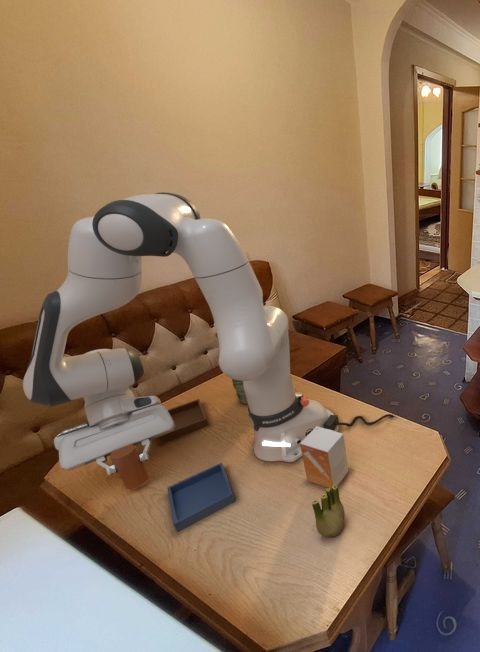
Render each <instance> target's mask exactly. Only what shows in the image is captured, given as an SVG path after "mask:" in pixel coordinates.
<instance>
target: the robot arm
mask: <svg viewBox="0 0 480 652" xmlns="http://www.w3.org/2000/svg"><path fill="white" fill-rule="evenodd" d="M173 253H174V254H177V255H178V256H180V257H181V258H182V259H183V261H185V263H186V265H187V266H188V268H189V270H190V272H191V274H192V276H193V278H194V280H195V282H196V283H197V285H198V287H199V289H200V291H201V293H202V295H203V297H204V299H205V301H206V303H207V304H208V307H209V309H210V312H211V316H212V319H213V323H214V328H215V332H216V333H217V337H218V338H217V337H216V338H217V341H218V347H219V348H218V349H219V350H218V351H219V352H218V366H219V369H220V371H221V372H222V373H223V374H224V375H225V376H226V377H228V378H230V379H231V380H232V379H234V380H238V381H243V387H244V391H245V394H246V398H247V402H248V404H247V405H248V408H247V411H248V418H249V422H250V425H251V427H252V429H253V432H254V445H253V453H254V456H255V457H257V459H259V460H261V461H264V462H284V463H285V462H286V463H294V462H296V461H297V460H299V459H300V458H301V457H303V456H302V451H301V446H300V443H301V442H302V441H303V440H304V439H305V438H306V437H307V436H308V435H309V434H310V433H311V432H312V431H313V430H314V429H315V428H316V427H317V426H318V427H321V428H325V429H329V430H332V431H335V432H339V429H340V426H347V427H351V426H353V425H354V423H355V422H356V420H357V419H361V420H362V422H363V423H364V425H367V426H371V425H375V424H377V423H379V422H380V421H383V420H384V419H385V418H388V417H389V418H394V417H395V415H394V414H390V413H388V414H384V415H382V416H380V417H379V418H377V419H376V420H374V421H371V422H369V421H367V420H366V419H365V418H364V416H362V415H356V416H355V417H354V418H352V421H351V422H350V423H348V422H339V415H337V414H334V413H333V412H332V411H331V410H329V409H328V408H326V407H325V406H324V405H322V404H321V403H320V402H319V401H317V400H315V399H308V398H307V397H305V396H304V394H303V393H302V392H300V391H299V390H298V389H297V388H294V384H293V379H292V373H291V352H290V350H291V349H290V337H289V335H290V334H289V325H290V323H289V322H290V321H289V317H288V315H287V314H286V312H284V310H282V309H281V308H279V307H277V306H273V305H264V293H263V289H262V287H261V285H260V282H259V280H258V278H257V276H256V273H255V271H254V269H253V266H252V264H251V263H250V260H249V258H248V256H247V254H246V252H245V250H244V248H243V247H242V245H241V243H240V242H239V240H238V238H237V237H236V236H235V234H234V232H233V231H232V230H231V229H230V227H229V226H228V225H227V224H226V223H225V222H223V221H221V220H219V219H216V218H201V215H200V212H199V209H198V207H197V206H196V205H195V204H194V203H193V202H192V200H190V199H188V198H186V197H185V196H183V195H180V194H178V193H173V192H157V193H149V194H144V193H143V194H135V195H131V196H129V197H126V198H122V199H118V200H113V201H110V202H108V203H107V204H105V205H103V206H102V207H101V208H99V209H98V210H97V212H96V213H95V214H94V216H87V217H83V218H81V219H79V220H77V221H76V222H75V223H74V224H73V225H72V227H71V231H70V235H69V239H68V246H67V274H66V278H65V279H64V281H63V283H62V284H61V286H59V288H58V289H57V290H53V291H52V292H50V293H47V295H46V296H45V298H44V299H43V302H42V305H41V308H40V311H39V316H38V320H37V324H36V329H35V334H34V338H33V339H34V340H33V345H32V350H31V354H30V357H29V362H28V365H27V368H26V372H25V374H24V377H23V380H22V389H23V392H24V395H25V397H26V398H27V400H28V401H29V402H31V403H33V404H37V405H39V406H43V407H44V406H45V407H50V408H53V407H57V406H60V405H62V404H66V403H71V402H73V401H74V400H78V399H83V400H84V407H83V408H84V412H85V416H86V420H87V421H86V422H83V423H81V424H78V425H76V426H74V427H70V428H67V429H64V430H61V431H60V433H58V434H57V435H56V436H55V437H54V439H53V445H54V449H55V450H56V451H58V461H59V467H60V468H61V469H62V470H66V471H74V470H76V469H79V468H81V467H84V466H87V465H90V464H92V463H94V462H96V464H97V465H98V466H101V467H102V468H104V469H105V471H106V473H107V476H109V477H111V476H112V475H115V474H118V472H117V470H116V468H115V466H114V464H112V465H109V464H107V463H108V461H109V460H108V457H110V454H111V453H112V452H113V451H114V450H116V449H119V448H122V447H124V446H127V445H129V444H133V445H134V446H135V447H136V446H139V445H142V446H143V451H142V453H140V454H139V458H140V461H141V462H143V463H144V462H146V461H149V460H150V457H149V452H150V449H151V446H152V442H151V440H153V439H156V438H159V436H161V435H164V434H166V433H169V432H172V431H173V430H174V429H175V427H176V425H175V423H174V420H173V418H172V417H171V415H170V413H169V412H168V410H169V409H167V408H166V407H165V406H164V405H162V401H161V399H160V398H159V397H158V396H156V395H145V396H137V397H136V396H135V394H134V393H133V391H132V390H131V387H132V386H134V385H135V384H136V383H138V382H139V381H140V379H141V378H142V377H143V376H144V374H145V370H144V366H143V363H142V359H141V357H140V354H139V353H137V351H134V350H132V349H130V348H127V347H120V348H112V349H111V348H97V349H94V350H89V351H87V352H85V353H83V354H78V355H72V356H64V354H65V350H66V344H67V340H68V337H69V333H70V331H72V329H74V328H75V327H76V326H77V325H79V324H81V323H82V322H85V321H88V320H89V319H92V318H94V317H97V316H99V315H102V314H106V313H108V312H112V311H115V310H117V309H120V308H121V307H123V306H125V305H127V304H128V303H130V302H131V301H133V300H134V299H135V298H136V297H137V296H138V294H139V293H140V291H141V287H142V278H143V277H142V276H143V271H142V270H143V267H142V257H163V258H167V257H169V256H171V255H172V254H173ZM393 415H394V416H393ZM106 462H107V463H106Z"/></svg>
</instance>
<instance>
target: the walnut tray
mask: <svg viewBox="0 0 480 652" xmlns="http://www.w3.org/2000/svg"><path fill="white" fill-rule="evenodd" d="M167 410H168V412H169V413H170V415H171V417H172V418H173V420H174V423H175V425H176V427H175V429H174V430H173V431H172V432H169V433H166V434H164V435H161V436H159V437H158V440H159V442H160V444H161V445H162V444H165V443H167V442H169V441H172V440H175V439H177V438H180V437H182V436H185V435H187V434H189V433H192V432H194V431H197V430H200V429H202V428H205V427H207V426H209V423H208V419H207V416H206V414H205V411H204V408H203V405H202V403H201V400H200V398H197V399H195V400H191V401H189V402H186V403H183V404H180V405H177V406H174V407H172V408H169V409H167Z"/></svg>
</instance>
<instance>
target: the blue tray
mask: <svg viewBox="0 0 480 652" xmlns="http://www.w3.org/2000/svg"><path fill="white" fill-rule="evenodd" d="M166 489H167V494H168V499H169V505H170V512H171V518H172V523H173V527H174V528H175V531H176V532H177V533H178V532H180V531H182V530H183V529H185V528H187V527H189V526H192V525H193V524H195V523H197V522H199V521H200V520H202V519H204V518H207V517H208V516H211V515H212V514H214V513H216V512H218V511H219V510H221V509H223V508H225V507H227V506H229V505H231V504H232V503H234V502H236V499H235V495H234V493H233V490H232V487H231V485H230V482H229V478H228V476H227V473H226V470H225V467H224V465H223V462H222V461H221V462H220V463H218V464H215V465H213V466H211V467H208V468H207V469H205V470H202V471H199V472H198V473H196V474H193V475H191V476H189V477H187V478H185V479H183V480H180V481H178V482H176V483H173V484H172V485H170V486H168V487H166Z"/></svg>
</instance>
